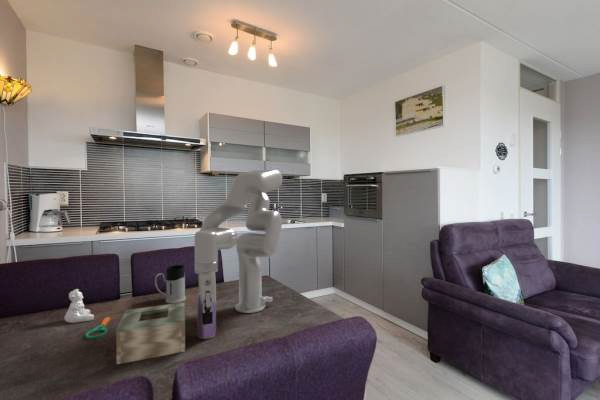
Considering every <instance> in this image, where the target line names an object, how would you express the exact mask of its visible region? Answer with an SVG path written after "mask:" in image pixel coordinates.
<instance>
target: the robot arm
mask: <svg viewBox="0 0 600 400" xmlns="http://www.w3.org/2000/svg"><path fill="white" fill-rule="evenodd" d="M282 183H283V176H282V172H280V170H279V169H255V170H250V171H249V172H242V173H239V174H238V175H237V176H236V177H235V178H234V181H233V183H232V185H231V187H230V188H229V191H228V193H227V195H226V198H225V200H224V201H223V202H222V203H221V204H220V205H218V206H216V207H215V208H214V209H213V210H212V211H211V212H210V213H209V214H208V215H207V216H206V218H205V219H204V221H203V223H202V225H201V227H200V230H198V231H196V232H195V234H194V274H197V275H198V292H199V294H200V300H201V303H202V304H203V312H202V324H203V325H206V324H212V323H213V311H212V301H213V302H214V303H215V302H216V303H217V288H216V287H217V285H216V284H217V282H216V281H217V280H216V273H217V272H218V271H219V251H220V250H229V249H232V248H234V247H235V246H236V252H237V258H238V302H237V303H236V304H235V308H234V309H235V310H236V312H239V313H243V314H253V313H258V312H260V311H263V310H264V309H265V308H266V303H268V302H270V303H271V302H273V301H274V298H273V296H268V295H265V296H263V295H262V294H263V293H262V292H263V291H262V290H263V289H262V288H263V287H262V285H263V284H262V277H263V275H262V273H263V272H262V269H263V268H262V263H261V260H260V258H266V259H267V258H268V259H269V258H272V257H274V256H275V254H276V253H277V249H278V246H279V241H280V237H281V230H282V225H283V219H282V218H283V217H282V215H281V214H280V212H279V211H277V210H273V209H272V210H270V209H269V208H270V204H271V201H270V198H269V196H268V194H267V193H269V192H272V191H276V190H278V189H279V188H280V187H281V186H282ZM249 201H250V203H249ZM248 204H249V207H248V212H247V215H246V219H245V227H246V230H248V231H250V232H251V233H249V232H247V233H242V234H240V235H239V236H238V234H237V232H236V230H234V229H232V228H228V227H220V226H221V224H223V223H224V222H226V221H227V220H228V219H232V218H233V217H236V216H238V215H240V214H242V213H244V212H245V211H246V209H247V206H248ZM253 232H260V233H253ZM205 293H206V296H205ZM204 301H206V303H204ZM205 305H206V306H205Z"/></svg>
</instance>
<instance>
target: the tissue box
mask: <svg viewBox="0 0 600 400" xmlns="http://www.w3.org/2000/svg"><path fill="white" fill-rule="evenodd" d="M185 305H186V304H185V301H183V302H178V303H167V304H163V305H155V306H153V305H152V306H147V307H146V306H145V307H138V308H131V309H126V310H125V312H124V313H123V316H122V317H121V319H120V321H119V324H118V325H117V327H116V329H115V331H116V332H115V333H116V340H115V341H116V344H115V345H116V347H115V348H116V365H120V364H126V363H131V362H136V361H137V362H138V361H143V360H147V359H153V358H160V357H162V356H163V357H164V356H168V355H174V354H179V353H184V352H186V314H185V313H186V312H185V311H186V310H185V309H186V306H185Z"/></svg>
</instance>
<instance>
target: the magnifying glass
mask: <svg viewBox="0 0 600 400" xmlns="http://www.w3.org/2000/svg"><path fill="white" fill-rule="evenodd" d="M110 320H111V318H110V317H109V316H107V317H105V318H104V319H103V320H102V321H101V322H100V324H98V326H96V327H94V328H93V329H91V330H89V331H87V332H86V334H85V339H87V340H96V339H99V338H102V337H104V336H105V335H107V333H108V328H107V327H106V326H107V325H108V323H109V322H110ZM98 332H102V333H100V334H97V335H92V334H95V333H98Z"/></svg>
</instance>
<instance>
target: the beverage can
mask: <svg viewBox="0 0 600 400" xmlns="http://www.w3.org/2000/svg"><path fill="white" fill-rule="evenodd" d="M205 296H206V293H205ZM196 302H197V336H198V338H199V339H200V340H209V339H212V338H214V337H215V336H216V334H217V307H216V306H217V301H216V302H215V303H214V302H213V301H212V311H213V323H212V324H206V325H203V324H202V312H203V304H202V303H201V300H200V294H199V291H198V292H197V297H196ZM204 303H206V301H204ZM205 306H206V305H205Z"/></svg>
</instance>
